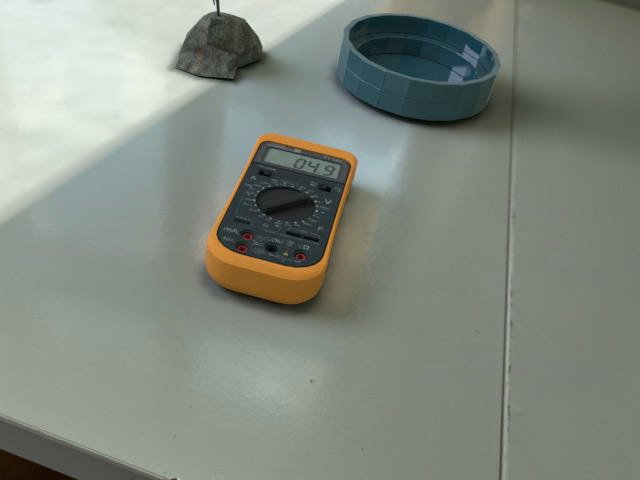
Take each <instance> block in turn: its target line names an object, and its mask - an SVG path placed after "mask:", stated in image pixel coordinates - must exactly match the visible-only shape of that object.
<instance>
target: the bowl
mask: <svg viewBox="0 0 640 480" xmlns="http://www.w3.org/2000/svg"><path fill="white" fill-rule="evenodd" d="M342 31H343V32H342V35H341V41H340V46H339V51H338V55H337V60H336V69H335V74H336V76H337V78H338V79H339V81H340V83H341V85H342V86H343V87H344V88H345V89H346V90H347V91H348V92H350V93H351V94H352V95H353V96H354V97H356V98H357V99H360V100H361V101H363V102H364V103H367V104H369V105H371V106H372V107H375V108H377V109H379V110H383V111H385V112H388V113H391V114H394V115H397V116H401V117H406V118H410V119H415V120H416V119H417V120H423V121H429V122H430V121H437V122H439V121H441V122H451V121H457V120H462V119H467V118H471V117H473V116H475V115H477V114H479V113H481V112H482V111H484V110H485V108H486V107H487V105H488V102H489V101H490V98H491V96H492V93H493V90H494V87H495V84H496V81H497V79H498V75H499V72H500V70H501V67H502V64H501V59H500V56H499V54H498V52H496V50H495V49H494V48H493V47H492V46H491V44H489V42H487V41H485V40H484V39H483V38H481V37H479V36H478V35H476V34H475V33H473V32H471V31H469V30H466V29H464V28H463V27H459V26H457V25H455V24H453V23H449V22H446V21H443V20H439V19H436V18H432V17H428V16H422V15H415V14H410V13H395V12H393V13H392V12H384V13H383V12H382V13H374V14H366V15H363V16H360V17H358V18H355V19H353V20H351V21H349V23H348V24H347V25H346V26H345V27H344V28H343V30H342Z"/></svg>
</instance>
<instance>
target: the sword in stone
mask: <svg viewBox="0 0 640 480" xmlns="http://www.w3.org/2000/svg"><path fill="white" fill-rule="evenodd" d="M212 3H213V6H215V7H216V10H214V11H210V12H208V13H206V14H204V15H202V16H201V18H199V20H198V21H197V22H196V23H195V24H194V25H193V26H192V27H191V28H190V29H189V31H187V33H186V34H185V38H184V40H183V43H182V45H181V48H180V50H179V53H178V58H177V63H176V64H175V67H174V68H176V69H178V70H181V71H184V72H187V73H190V74H193V75H196V76H199V77H208V78H209V77H210V78H221V79H234V78H235V75H236V72H237V69H238V68H240V67H243V66H246V65H248V64H251V63H253V62H257V61H259V60H261V59H262V52H263V48H264V47H263V44H262V42H261V39H260V37H259V36H258V34H257V33H256V31H255V30H254V29H253V28H252V27H251V25H250V24H249V22H248V21H247V20H246V18H244V17H240V16H239V15H234V14H231V13H227V12H222V11H221V5H220V0H212Z"/></svg>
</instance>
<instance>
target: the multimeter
mask: <svg viewBox="0 0 640 480" xmlns="http://www.w3.org/2000/svg"><path fill="white" fill-rule="evenodd" d="M356 157H357V156H355V154H353V153H351V152H350V151H347V150H344V149H341V148H337V147H333V146H328V145H324V144H321V143H316V142H312V141H307V140H303V139H300V138H296V137H292V136H286V135H282V134H279V133H273V132H271V133H270V132H269V133H264V134H261V135H260V136H259V137H258V138H257V139H256V142H255V144H254V147H253V149H252V151H251V154H250V155H249V158H248V161H247V163H246V165H245V167H244V169H243V171H242V173H241V175H240V176H239V178H238V181H237V183H236V185H235V187H234V188H233V191H232V193H231V195H230V196H229V198H228V199H227V202H226V204H225V205H224V207H223V209H222V210H221V212H220V214H219V216H218V218H217V219H216V221H215V223H214V224H213V227H212V228H211V230H210V232H209V234H208V236H207V241H206V249H205V258H204V261H205V267H206V270H207V273H208V274H209V275H210V277H211V278H212V280H213V281H214V282H215V283H216V284H217V285H219V286H220V287H222V288H224V289H228V290H230V291H233V292H236V293H241V294H245V295H248V296H253V297H256V298H260V299H263V300H268V301H271V302H275V303H278V304H284V305H299V304H302V303H305V302H307V301H310V300H311V299H312V298H314V297H315V296H317V294H318V292H319V291H320V289H321V287H322V286H323V283H324V280H325V275H326V271H327V268H328V264H329V260H330V255H331V252H332V248H333V243H334V240H335V238H336V233H337V231H338V227H339V224H340V220H341V217H342V214H343V211H344V208H345V204H346V201H347V199H348V196H349V193H350V190H351V187H352V185H353V182H354V179H355V176H356V172H357V171H356V170H357V167H358V159H357V158H356Z"/></svg>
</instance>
